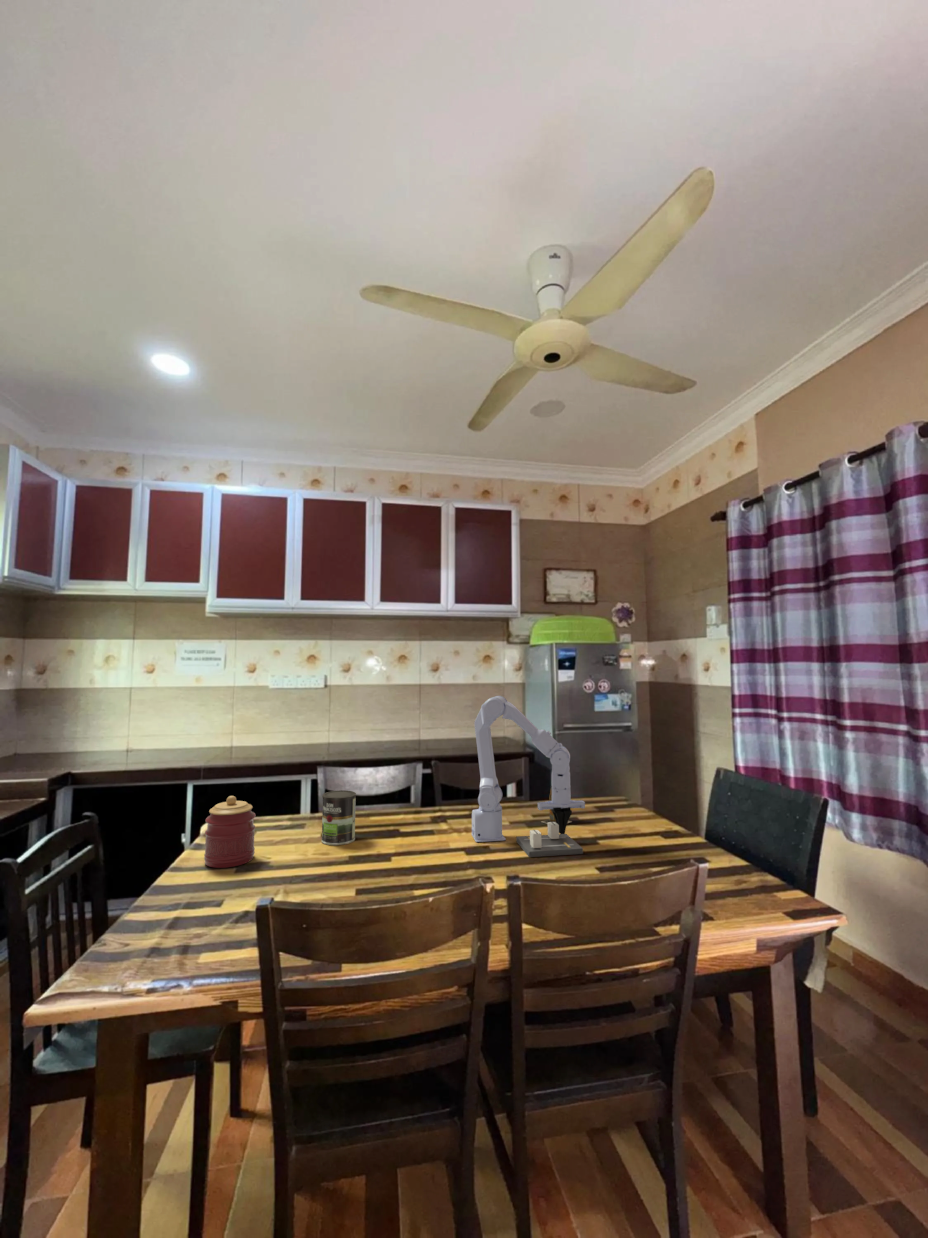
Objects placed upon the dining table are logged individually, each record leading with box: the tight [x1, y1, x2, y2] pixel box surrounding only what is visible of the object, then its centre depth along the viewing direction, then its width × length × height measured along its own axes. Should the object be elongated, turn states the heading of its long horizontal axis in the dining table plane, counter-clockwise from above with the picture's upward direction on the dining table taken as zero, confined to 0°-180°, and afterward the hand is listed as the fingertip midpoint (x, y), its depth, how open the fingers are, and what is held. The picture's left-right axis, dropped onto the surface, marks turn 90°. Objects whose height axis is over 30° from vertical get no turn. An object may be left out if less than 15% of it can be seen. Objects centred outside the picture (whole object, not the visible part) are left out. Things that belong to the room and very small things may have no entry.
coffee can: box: [321, 790, 357, 846], centre depth 173 cm, size 10×10×14 cm
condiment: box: [540, 785, 573, 825], centre depth 192 cm, size 7×8×12 cm
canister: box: [203, 795, 256, 869], centre depth 155 cm, size 13×13×18 cm
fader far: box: [547, 822, 560, 839], centre depth 169 cm, size 2×4×4 cm
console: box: [515, 833, 584, 858], centre depth 165 cm, size 16×14×2 cm
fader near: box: [529, 829, 542, 848], centre depth 161 cm, size 2×4×4 cm
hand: (561, 833), depth 169 cm, fingers closed
